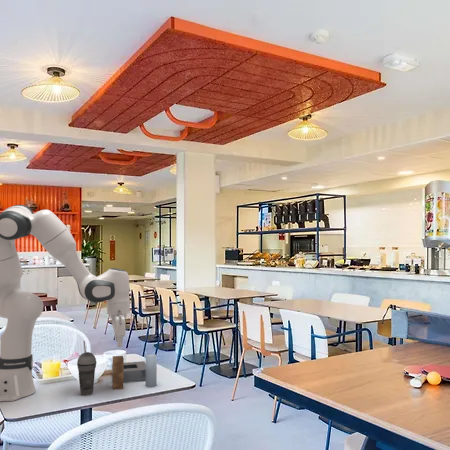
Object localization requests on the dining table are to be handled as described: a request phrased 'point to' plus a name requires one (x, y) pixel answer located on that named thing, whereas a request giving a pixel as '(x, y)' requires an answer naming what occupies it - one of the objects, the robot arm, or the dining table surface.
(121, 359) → the square peg
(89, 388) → the beverage cup
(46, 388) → the dining table surface
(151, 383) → the round peg
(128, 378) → the bore block
